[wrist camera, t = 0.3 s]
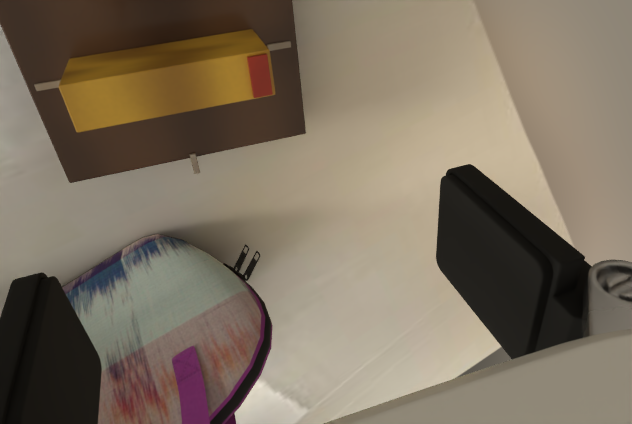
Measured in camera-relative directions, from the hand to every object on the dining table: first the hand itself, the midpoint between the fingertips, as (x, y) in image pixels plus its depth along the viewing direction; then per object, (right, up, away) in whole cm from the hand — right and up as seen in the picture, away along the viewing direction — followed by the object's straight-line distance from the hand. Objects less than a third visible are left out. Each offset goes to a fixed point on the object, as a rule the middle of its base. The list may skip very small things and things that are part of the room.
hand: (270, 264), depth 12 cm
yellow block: (-7, +10, +16) cm, 20 cm away
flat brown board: (-8, +11, +18) cm, 23 cm away
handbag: (-13, -6, +28) cm, 31 cm away
